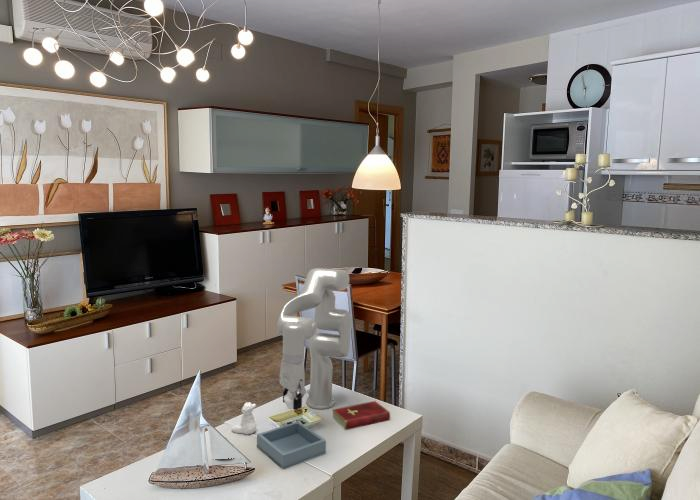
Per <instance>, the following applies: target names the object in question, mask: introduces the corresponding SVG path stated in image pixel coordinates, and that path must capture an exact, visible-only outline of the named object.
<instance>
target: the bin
mask: <svg viewBox="0 0 700 500" xmlns="http://www.w3.org/2000/svg"><path fill="white" fill-rule="evenodd" d="M326 445H327V440H326V439H325V438H323V437H322V436H321V435H319V434H318V433H316V432H315V431H313V430H312V429H311V428H309V427H307V426H306V425H304V424H303V423H302V422H301V421H295V422H292V423H289V424H285V425H283V426H279V427H276V428H273V429H270V430H265V431H263V432H260V433H257V434H256V448H257V449H259V450H260V451H261V452H262V453H263V454H264V455H265V456H267V457H268V458H269V459H270V460H272V461H273V462H274V463H275V464H277V466H279V467H280V468H281V469H282V470H284V469H287V468H290V467H292V466H295V465H298V464H301V463H304V462H306V461H309V460H311V459H314V458H317V457H319V456H322V455H324V454H326V452H327V451H326V449H327V446H326Z"/></svg>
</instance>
